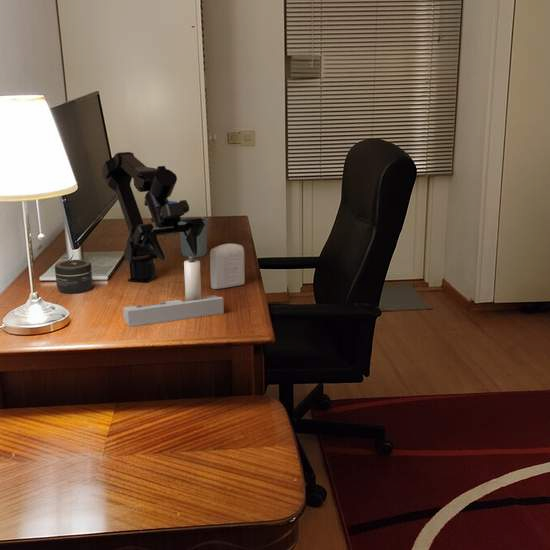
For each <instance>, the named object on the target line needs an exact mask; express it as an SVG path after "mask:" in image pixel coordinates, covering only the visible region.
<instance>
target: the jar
mask: <svg viewBox="0 0 550 550" xmlns="http://www.w3.org/2000/svg"><path fill="white" fill-rule="evenodd" d="M54 270H55V271H54V273H55V280H56V287H57V290H58V291H59V293H61V294H64V295H76V294H83V293H86V292H88V291H90V290H91V288H92V286H93V273H92V271H93V269H92V263H91V262H90V260H86V259H68V260H64V261H60V262H58V263H55V266H54Z"/></svg>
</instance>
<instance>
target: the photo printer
mask: <svg viewBox="0 0 550 550" xmlns="http://www.w3.org/2000/svg"><path fill="white" fill-rule="evenodd" d="M209 262H210V264H209V265H210V266H209V268H210V269H209V271H210V273H209V274H210V276H209V277H210V286H211V287H210V288H211V289H212V290H220V289H227V288H231V287H238V286H242V285H245V279H246V277H245V249H244V246H243V245H241V244H237V243H224V244H220V245H217V246H214V247H213V248H211V250H210V252H209Z"/></svg>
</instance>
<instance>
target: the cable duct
mask: <svg viewBox="0 0 550 550" xmlns="http://www.w3.org/2000/svg"><path fill="white" fill-rule="evenodd" d="M224 311H225V310H224V298H223V297H222V296H217V295H216V294H213V295H206V296H203V298H201V300H193V301H186V300H185V301H182V300H181V299H175V300H169V301H160V302H159V304H151V305H143V306H142V304H141V305H131V306H123V307H122V312H123V319H124V321H125V323H126V324H127V327H129V328H130V327H131V328H132V327H138V326H144V325H152V324H158V323H159V324H160V323H165V322H172V321H180V320H187V318H188V319H195V318H200V317H201V316H202V317H207V316H208V315H209V316H217V315H221V314H224V313H225V312H224Z"/></svg>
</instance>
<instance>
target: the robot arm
mask: <svg viewBox="0 0 550 550" xmlns="http://www.w3.org/2000/svg"><path fill="white" fill-rule="evenodd" d="M101 175H102V177H103V179H104V180H105V183H106V184H107V185H106V186H108V188H110V189H112V190H113V191H114V192H115V194H116V197H117V200H118V203H119V206H120V208H121V211H122V212H121V213H122V215H123V218H124V220H125V224H126V226H127V229H128V236H127V240H126V245H125V248H124V252H123V256H124V260H125V261H127V262H128V263H129V264H128V265H129V276H130V277H129V278H127V281H128V282H135V283H136V282H137V283H149V282H151V281H153V280H154V279H155V278H157V275H156V264H155V263H154V260H157V259H158V258H159V259H160V260H161V261H165V260H166V257H165V255H164V252H163V250H162V247H161V245H160V242H159V239H158V236H161V235H162V236H163V235H165V236H166V235H175V234H174V233H177V234H179V233H181V232H184V234H185V236H186V237H187V238H186V241H187V243H188V245H189V247H190V249H191V251H192V252H193V254H194V255H195V256H196V255H197V236H199V235H200V233H201V231H202V229H203V228H204V226H205V223H204V221H203V219H202V218H200V217H201V216H197V217H198V218H190V219H188V220H187V222H186V224H184V225H178V222H180V221H181V218H182V216H184V215H185V214H187V213H189V212H190V206H189V204H188V201H187V200H186V199H184V200H179V202H178V201H177V203H171V204H170V203H169V201H170V200H169V199H168V198H169V197H172V196H171V195H172V193H173V190H174V188H175V186H176V184H177V181H178V177H177V175H176V173H174V171H172V170H170V169H168V168H166V165H160V166H159V165H158V166H157V168H155V167H151V166H150V167H148V166H146V165H145V164H144V163H142V162H141V161H140V159H138V158H137V157H136V156H135V155H134V152H131V151H123V152H117V153H115V154H114V156H113V157H111V158H110V159H108V160H106V161H105V163H104V164H103V166H102V168H101ZM132 180H133V185H134V188H135V189H136V190H137V191H138V192H139V193H145V196H144V202H143V203H144V206H146V207H148V211H149V213H150V216H151V217H150V221H151V223H144V220H143V218H142V215H141V212H140V209H139V206H138V203H137V201H136V198H135V194H134V192H133V189H132V186H131V183H132ZM153 223H154V225H155V227H154V225H153Z"/></svg>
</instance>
